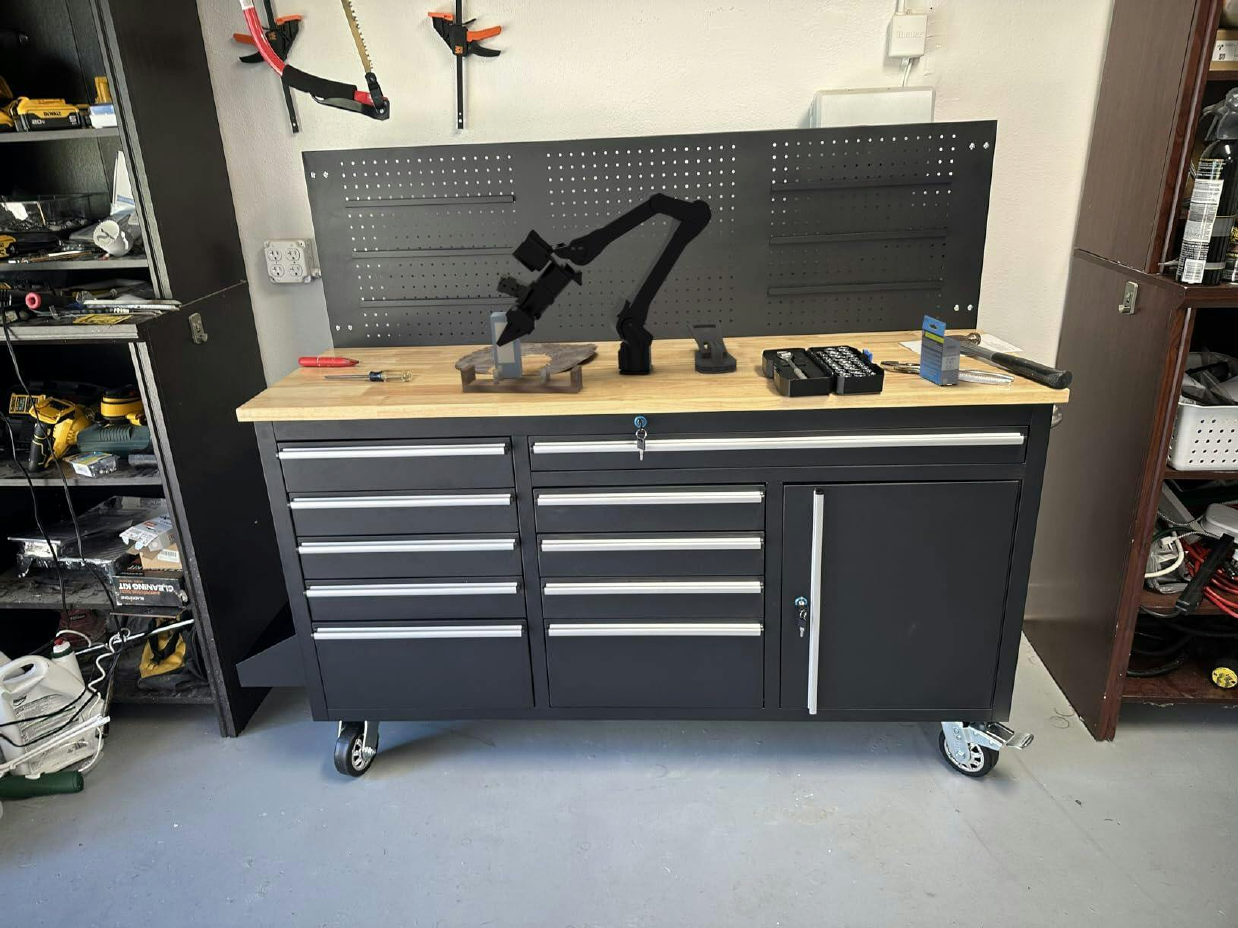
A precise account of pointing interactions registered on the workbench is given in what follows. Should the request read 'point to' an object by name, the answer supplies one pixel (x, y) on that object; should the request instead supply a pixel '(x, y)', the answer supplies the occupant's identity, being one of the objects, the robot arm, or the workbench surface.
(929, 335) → the label tape box
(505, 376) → the frame block
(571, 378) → the rail
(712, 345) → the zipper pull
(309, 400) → the workbench surface
